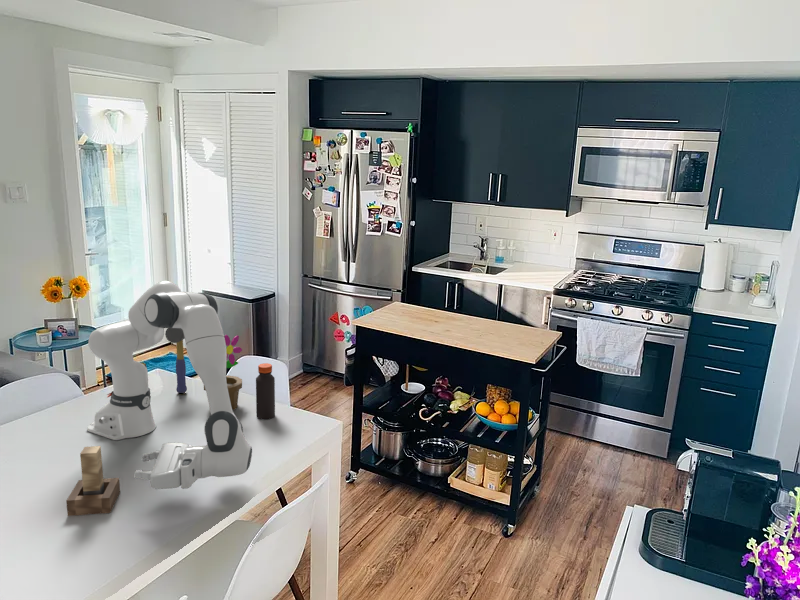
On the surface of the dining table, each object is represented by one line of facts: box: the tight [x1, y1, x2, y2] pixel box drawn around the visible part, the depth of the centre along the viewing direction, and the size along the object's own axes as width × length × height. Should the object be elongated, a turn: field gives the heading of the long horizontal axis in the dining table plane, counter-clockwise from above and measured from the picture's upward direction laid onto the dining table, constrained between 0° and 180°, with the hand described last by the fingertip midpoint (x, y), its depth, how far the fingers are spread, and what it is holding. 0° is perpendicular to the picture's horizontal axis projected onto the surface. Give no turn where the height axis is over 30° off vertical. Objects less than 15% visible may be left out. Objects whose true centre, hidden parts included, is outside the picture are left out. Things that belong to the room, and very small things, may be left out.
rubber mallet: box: [164, 328, 188, 394], centre depth 240 cm, size 12×8×30 cm, turn 1°
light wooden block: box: [79, 445, 105, 496], centre depth 163 cm, size 4×4×16 cm
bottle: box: [255, 362, 276, 421], centre depth 223 cm, size 7×7×20 cm
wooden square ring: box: [65, 477, 121, 517], centre depth 165 cm, size 10×10×4 cm
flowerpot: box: [203, 334, 243, 411], centre depth 229 cm, size 14×14×30 cm
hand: (138, 465), depth 165 cm, fingers open, 8 cm apart
